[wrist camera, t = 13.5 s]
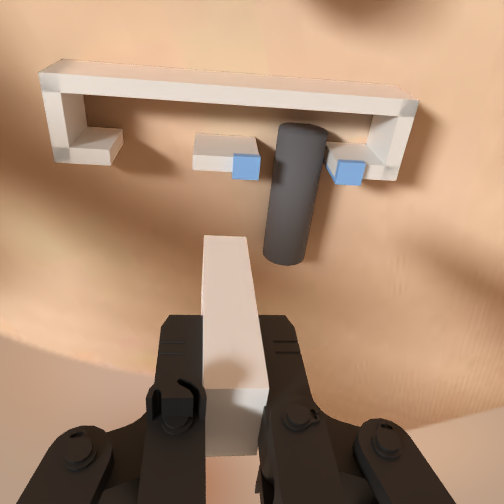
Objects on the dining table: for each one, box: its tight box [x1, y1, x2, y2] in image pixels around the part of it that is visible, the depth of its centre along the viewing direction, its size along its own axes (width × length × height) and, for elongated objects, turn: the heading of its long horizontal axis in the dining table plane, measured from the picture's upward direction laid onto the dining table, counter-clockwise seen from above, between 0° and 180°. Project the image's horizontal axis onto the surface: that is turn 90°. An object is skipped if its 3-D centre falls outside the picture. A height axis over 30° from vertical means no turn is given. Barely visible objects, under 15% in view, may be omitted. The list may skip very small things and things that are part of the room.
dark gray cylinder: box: [263, 123, 328, 266], centre depth 37 cm, size 12×4×4 cm, turn 175°
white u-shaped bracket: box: [38, 59, 419, 186], centre depth 32 cm, size 26×6×6 cm, turn 85°
